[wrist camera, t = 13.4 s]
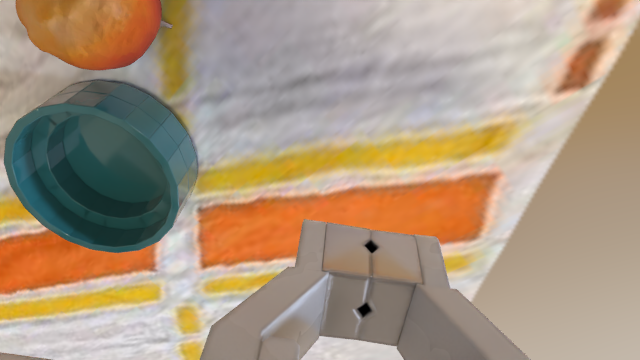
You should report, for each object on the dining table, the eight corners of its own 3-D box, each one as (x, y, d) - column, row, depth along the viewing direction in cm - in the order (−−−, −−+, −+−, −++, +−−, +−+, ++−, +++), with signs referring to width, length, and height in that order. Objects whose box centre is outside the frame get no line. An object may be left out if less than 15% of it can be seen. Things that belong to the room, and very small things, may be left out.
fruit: (121, 101, 33) (16, 84, 25) (84, 0, 33) (-29, -46, 26) (213, 49, 30) (128, 13, 23) (172, -58, 31) (75, -128, 23)
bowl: (30, 67, 34) (-17, 92, 29) (197, 89, 33) (173, 118, 29) (61, 204, 40) (25, 241, 36) (201, 223, 40) (182, 262, 36)
